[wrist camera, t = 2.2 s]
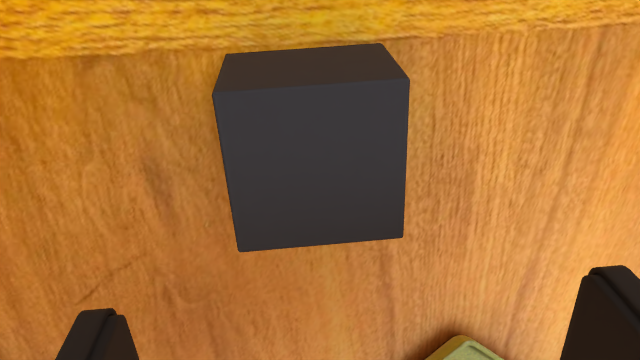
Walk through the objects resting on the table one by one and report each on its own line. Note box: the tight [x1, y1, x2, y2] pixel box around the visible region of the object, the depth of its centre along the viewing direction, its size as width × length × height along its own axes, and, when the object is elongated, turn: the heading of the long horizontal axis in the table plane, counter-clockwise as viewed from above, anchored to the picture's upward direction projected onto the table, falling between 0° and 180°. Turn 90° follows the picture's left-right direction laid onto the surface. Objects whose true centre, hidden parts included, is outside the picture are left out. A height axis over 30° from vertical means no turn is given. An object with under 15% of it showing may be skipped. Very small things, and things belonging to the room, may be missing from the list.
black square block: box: [212, 43, 410, 252], centre depth 18 cm, size 6×6×4 cm
